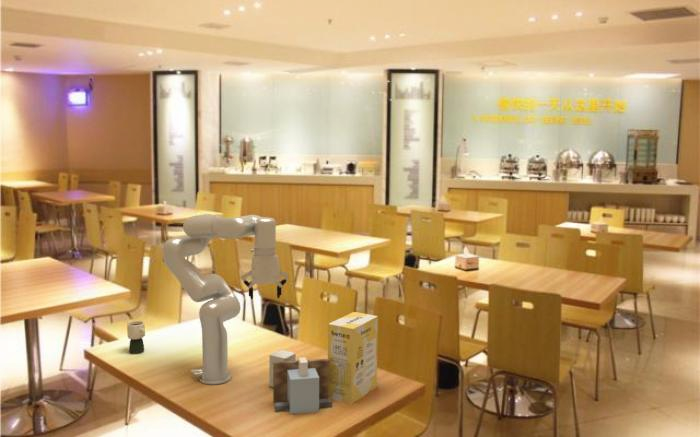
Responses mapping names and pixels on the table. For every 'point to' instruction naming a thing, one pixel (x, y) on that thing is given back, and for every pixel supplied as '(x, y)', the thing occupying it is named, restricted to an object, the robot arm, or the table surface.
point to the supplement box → (279, 357)
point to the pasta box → (352, 356)
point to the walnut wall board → (281, 382)
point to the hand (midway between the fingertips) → (265, 297)
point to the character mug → (136, 336)
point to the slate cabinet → (303, 388)
